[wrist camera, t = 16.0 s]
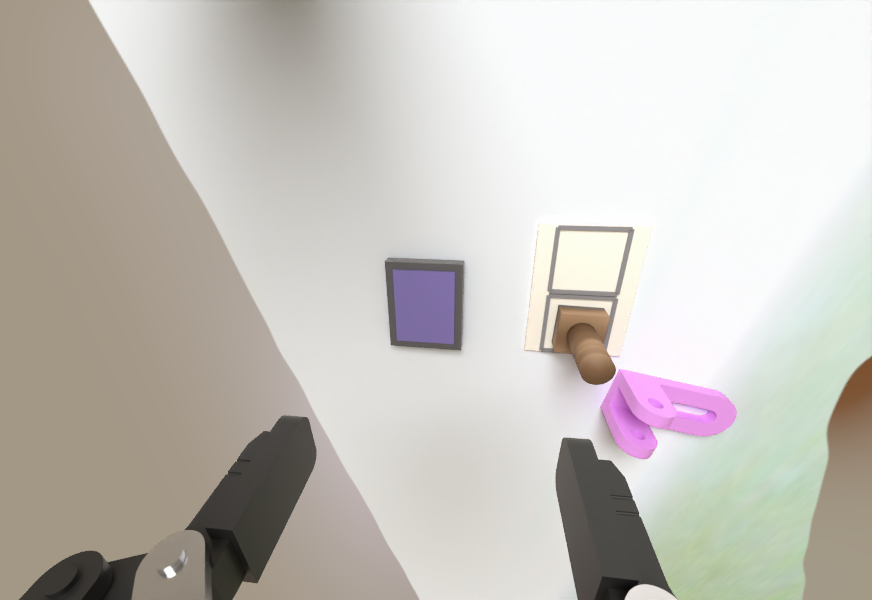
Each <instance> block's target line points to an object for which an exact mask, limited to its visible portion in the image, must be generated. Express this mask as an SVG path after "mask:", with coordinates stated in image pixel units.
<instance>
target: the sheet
mask: <svg viewBox="0 0 872 600" xmlns="http://www.w3.org/2000/svg"><path fill="white" fill-rule="evenodd" d="M652 228H653V227H652V226H632V225H588V224H544V223H539V227H538V235H537V244H536V253H535V261H534V270H533V279H532V287H531V296H530V305H529V313H528V322H527V331H526V339H525V348H524V349H525V350H533V351H541V352H554V349H553V345H552V337H553V331H554V326H555V320H556V315H557V310H558V305H570V306H583V307H597V308H604V309H605V310H606V312H607V313H608V315H609V316H610V319H609V323H608V327H607V331H606V335H605V339H604V343H603V345H604V347H605V349H606V350H607V352H608V354H609V356H620V354H621V350H622V346H623V342H624V338H625V334H626V330H627V326H628V322H629V318H630V315H631V311H632V307H633V303H634V299H635V295H636V291H637V287H638V283H639V279H640V275H641V271H642V267H643V263H644V259H645V255H646V251H647V247H648V243H649V239H650V235H651V231H652ZM554 353H559V352H554ZM569 354H570V353H569Z"/></svg>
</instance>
